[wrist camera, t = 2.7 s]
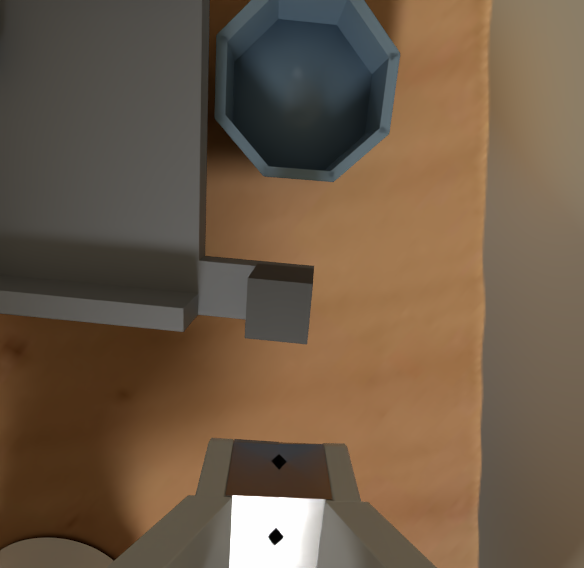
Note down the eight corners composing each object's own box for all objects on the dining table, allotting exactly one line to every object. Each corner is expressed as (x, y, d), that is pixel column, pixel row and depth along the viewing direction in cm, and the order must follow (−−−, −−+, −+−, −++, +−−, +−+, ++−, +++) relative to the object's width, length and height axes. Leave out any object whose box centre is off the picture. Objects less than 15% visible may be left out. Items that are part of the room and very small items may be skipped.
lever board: (309, 317, 22) (306, 344, 19) (-32, 284, 23) (-93, 304, 20) (343, -39, 18) (349, -91, 14) (-86, -65, 18) (-179, -119, 15)
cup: (364, 182, 29) (382, 185, 24) (224, 171, 28) (213, 172, 24) (384, 23, 26) (408, -9, 21) (228, 7, 26) (217, -30, 21)
